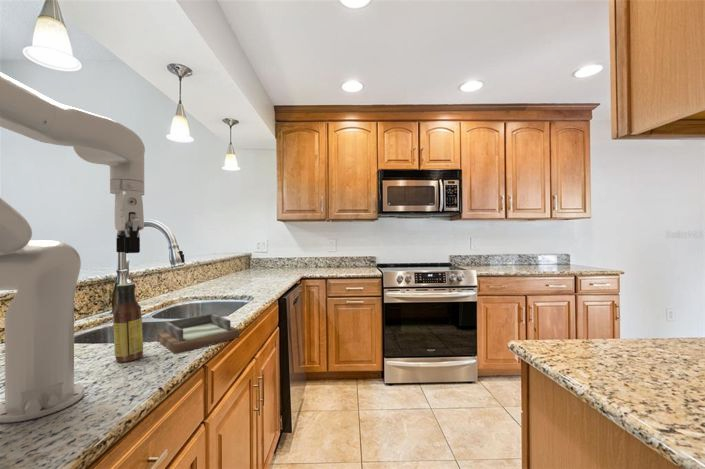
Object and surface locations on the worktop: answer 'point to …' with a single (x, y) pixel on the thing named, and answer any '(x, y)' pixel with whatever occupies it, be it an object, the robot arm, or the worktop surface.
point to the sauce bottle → (127, 325)
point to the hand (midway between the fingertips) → (127, 252)
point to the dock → (196, 332)
